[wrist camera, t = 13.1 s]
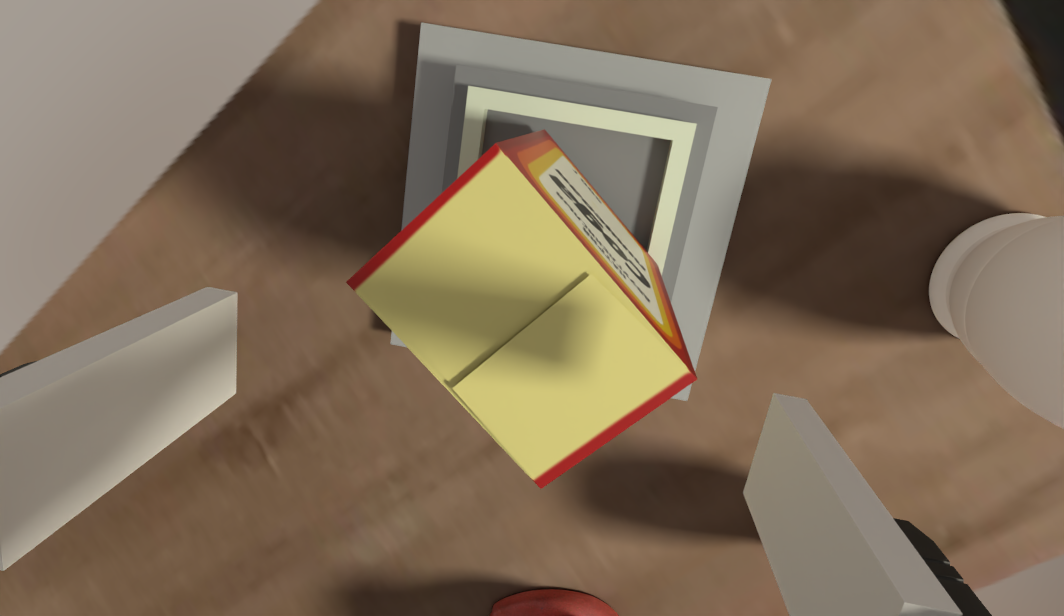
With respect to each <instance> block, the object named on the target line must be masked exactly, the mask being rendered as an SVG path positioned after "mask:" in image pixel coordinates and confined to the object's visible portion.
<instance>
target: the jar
mask: <svg viewBox="0 0 1064 616" xmlns="http://www.w3.org/2000/svg"><path fill="white" fill-rule="evenodd" d="M929 299H930V304H931V308H932V311H933V313H934V315H935V317H936V319H937V320H938V321H939V323H940V324H941V325H942V326H943V327H944V328H945V329H946V330H947V331H948V332H949V333H951V334H952V335H953V336H955V337H957V338H959V339H960V340H961V341H962V343H963V344H964V346H965V347H966V348H967V350H968V351H969V352H970V353H971V355H972V356H973V357H974V358H975V359H976V360H977V361H978V362H979V363H980V364H981V365H982V366H983V367H984V368H985V369H986V371H987V372H988V373H989V374H990V375H991V377H992V378H993V379H994V380H995V381H996V382H997V383H998V384H999V385H1000V386H1001V387H1002V388H1003V389H1004V390H1005V391H1007V392H1008V393H1009V394H1010V395H1011V396H1012V397H1014V398H1015V399H1016V400H1017V401H1019V402H1020V403H1021V404H1023V405H1024V406H1026V407H1027V408H1028V409H1030V410H1031V411H1033V412H1034V413H1036V414H1038V415H1039V416H1041V417H1043V418H1044V419H1046V420H1048V421H1050V422H1051V423H1053V424H1055V425H1057V426H1059V427H1061V428H1063V429H1064V216H1054V217H1044V216H1040V215H1036V214H1029V213H1011V214H1004V215H999V216H995V217H992V218H989V219H986V220H984V221H981V222H979V223H977V224H975V225H973V226H971V227H970V228H968V229H967V230H965V231H964V232H962V233H961V234H960V235H958V236H957V237H956V238H955V239H954V240H953V241H952V242H951V243H950V244H949V245H948V246H947V247H946V248H945V250H944V251H943V252H942V254H941V255H940V257H939V258H938V260H937V262H936V264H935V266H934V269H933V271H932V274H931V278H930V283H929Z"/></svg>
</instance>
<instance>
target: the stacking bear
mask: <svg viewBox="0 0 1064 616" xmlns="http://www.w3.org/2000/svg"><path fill="white" fill-rule="evenodd" d="M490 616H619V615H618V614H617V613H616V612H615V611H614V610H613V609H612V608H611V607H610V606H609V605H607V604H606V603H604V602H603V601H601V600H599V599H597V598H595V597H593V596H590V595H587V594H584V593H579V592H574V591H568V590H556V589H548V590H533V591H527V592H522V593H518V594H515V595H511V596H509V597H506V598H504V599H501V600H500V601H498V602H497V603H495V604H494V606H493V610H492V612H491V614H490Z"/></svg>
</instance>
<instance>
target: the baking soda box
mask: <svg viewBox="0 0 1064 616" xmlns="http://www.w3.org/2000/svg"><path fill="white" fill-rule="evenodd" d="M346 283H347V284H348V285H349V286H350V287H351V288H352V289H353V290H354V291H355V292H356V293H357V294H358V295H359V296H360V297H361V299H362V300H363V301H364V302H365V303H366V304H367V305H368V306H369V307H370V308H371V309H372V310H373V311H374V312H375V313H376V314H377V315H378V317H379V318H380V319H381V320H382V321H383V322H384V323H385V324H386V325H387V326H388V327H389V328H390V329H391V330H392V331H393V332H394V334H395V335H396V336H397V337H398V338H399V339H400V340H401V341H402V342H403V343H404V344H405V345H406V346H407V347H408V348H409V349H410V350H411V352H412V353H413V354H414V355H415V356H416V357H417V358H418V359H419V360H420V361H421V362H422V363H423V364H424V365H425V366H426V367H427V369H428V370H429V371H430V372H431V373H432V374H433V375H434V376H435V377H436V378H437V379H438V380H439V381H440V382H441V383H442V384H443V385H444V387H445V388H446V389H447V390H448V391H449V392H450V393H451V394H452V395H453V396H454V397H455V398H456V399H457V400H458V401H459V402H460V404H461V405H462V406H463V407H464V408H465V409H466V410H467V411H468V412H469V413H470V414H471V415H472V416H473V417H474V418H475V419H476V420H477V422H478V423H479V424H480V425H481V426H482V427H483V428H484V429H485V430H486V431H487V432H488V433H489V434H490V435H491V436H492V437H493V439H494V440H495V441H496V442H497V443H498V444H499V445H500V446H501V447H502V448H503V449H504V450H505V451H506V452H507V453H508V454H509V456H510V457H511V458H512V459H513V460H514V461H515V462H516V463H517V464H518V465H519V466H520V467H521V468H522V469H523V470H524V471H525V472H526V474H527V475H528V476H529V477H530V478H531V479H532V480H533V481H534V482H535V483H536V484H537V485H538V486H539V487H540V488H543V487H544V486H546V485H547V484H549V483H550V482H551V481H553V480H554V479H556V478H557V477H559V476H560V475H561V474H563V473H564V472H566V471H567V470H569V469H570V468H571V467H573V466H574V465H576V464H577V463H579V462H580V461H581V460H583V459H584V458H586V457H587V456H589V455H590V454H591V453H593V452H594V451H596V450H597V449H599V448H600V447H601V446H603V445H604V444H606V443H607V442H609V441H610V440H611V439H613V438H614V437H616V436H617V435H619V434H620V433H621V432H623V431H624V430H626V429H627V428H628V427H630V426H631V425H633V424H634V423H636V422H637V421H638V420H640V419H641V418H643V417H644V416H646V415H647V414H648V413H650V412H651V411H653V410H654V409H656V408H657V407H658V406H660V405H661V404H663V403H664V402H666V401H667V400H668V399H670V398H671V397H673V396H674V395H676V394H677V393H678V392H680V391H681V390H683V389H684V388H686V387H687V386H688V385H690V384H691V383H693V382H694V381H696V380H697V376H696V374H695V371H694V368H693V365H692V362H691V359H690V356H689V353H688V351H687V348H686V345H685V342H684V339H683V336H682V333H681V330H680V328H679V325H678V322H677V319H676V316H675V313H674V310H673V307H672V305H671V302H670V299H669V296H668V293H667V290H666V287H665V284H664V282H663V279H662V276H661V273H660V270H659V267H658V264H657V263H656V262H655V261H654V259H653V258H652V257H651V256H650V255H649V254H648V252H647V251H646V250H645V249H644V248H643V246H642V245H641V244H640V243H639V242H638V240H637V239H636V238H635V237H634V236H633V234H632V233H631V232H630V231H629V230H628V228H627V227H626V226H625V225H624V224H623V222H622V221H621V220H620V219H619V218H618V216H617V215H616V214H615V213H614V212H613V210H612V209H611V208H610V207H609V206H608V204H607V203H606V202H605V201H604V200H603V198H602V197H601V196H600V195H599V194H598V192H597V191H596V190H595V189H594V188H593V186H592V185H591V184H590V183H589V182H588V180H587V179H586V178H585V177H584V176H583V174H582V173H581V172H580V171H579V170H578V168H577V167H576V166H575V165H574V164H573V162H572V161H571V160H570V159H569V158H568V156H567V155H566V154H565V153H564V152H563V150H562V149H561V148H560V147H559V146H558V145H557V143H556V142H555V141H554V140H553V139H552V137H551V136H550V135H549V134H548V133H547V131H546V130H545V129H544V130H541V131H537V132H534V133H530V134H526V135H523V136H519V137H516V138H512V139H508V140H505V141H501V142H498V143H495V144H494V145H493V146H492V147H491V148H490V149H489V150H488V151H487V152H486V153H484V154H483V155H482V156H481V157H480V158H479V159H478V160H477V161H476V162H475V163H474V164H473V165H472V166H470V167H469V168H468V169H467V170H466V171H465V172H464V173H463V174H462V175H461V176H460V177H459V178H458V179H457V180H455V181H454V182H453V183H452V184H451V185H450V186H449V187H448V188H447V189H446V190H445V191H444V192H443V193H441V194H440V195H439V196H438V197H437V198H436V199H435V200H434V201H433V202H432V203H431V204H430V205H429V206H427V207H426V208H425V209H424V210H423V211H422V212H421V213H420V214H419V215H418V216H417V217H416V218H415V219H413V220H412V221H411V222H410V223H409V224H408V225H407V226H406V227H405V228H404V229H403V230H402V231H401V232H399V233H398V234H397V235H396V236H395V237H394V238H393V239H392V240H391V241H390V242H389V243H388V244H387V245H385V246H384V247H383V248H382V249H381V250H380V251H379V252H378V253H377V254H376V255H375V256H374V257H373V258H371V259H370V260H369V261H368V262H367V263H366V264H365V265H364V266H363V267H362V268H361V269H360V270H359V271H357V272H356V273H355V274H354V275H353V276H352V277H351V278H350V279H349V280H348V281H347V282H346Z"/></svg>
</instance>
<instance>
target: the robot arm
mask: <svg viewBox="0 0 1064 616" xmlns="http://www.w3.org/2000/svg"><path fill="white" fill-rule="evenodd" d="M236 358H237V292H232V291H227V290H222V289H216V288H211V287H206V288H204V289H202V290H199V291H197V292H195V293H192V294H190V295H188V296H186V297H183V298H181V299H179V300H176V301H174V302H172V303H170V304H167V305H165V306H163V307H160V308H158V309H156V310H154V311H151V312H149V313H147V314H144V315H142V316H140V317H137V318H135V319H133V320H131V321H128V322H126V323H124V324H121V325H119V326H117V327H115V328H112V329H110V330H108V331H105V332H103V333H101V334H99V335H96V336H94V337H92V338H89V339H87V340H85V341H83V342H80V343H78V344H76V345H73V346H71V347H69V348H67V349H64V350H62V351H60V352H57V353H55V354H53V355H51V356H48V357H46V358H44V359H41V360H39V361H35V362H31V363H27V364H23V365H21V366H19V367H16V368H14V369H12V370H9V371H7V372H5V373H2V374H0V570H2V571H4V570H5V569H7V568H8V567H9V566H11V565H12V564H13V563H15V562H16V561H17V560H19V559H20V558H21V557H22V556H24V555H25V554H26V553H28V552H29V551H30V550H32V549H33V548H34V547H36V546H37V545H38V544H39V543H41V542H42V541H43V540H45V539H46V538H47V537H49V536H50V535H51V534H53V533H54V532H55V531H56V530H58V529H59V528H60V527H62V526H63V525H64V524H66V523H67V522H68V521H70V520H71V519H72V518H73V517H75V516H76V515H77V514H79V513H80V512H81V511H83V510H84V509H85V508H87V507H88V506H89V505H91V504H92V503H93V502H94V501H96V500H97V499H98V498H100V497H101V496H102V495H104V494H105V493H106V492H108V491H109V490H110V489H111V488H113V487H114V486H115V485H117V484H118V483H119V482H121V481H122V480H123V479H125V478H126V477H127V476H128V475H130V474H131V473H132V472H134V471H135V470H136V469H138V468H139V467H140V466H142V465H143V464H144V463H145V462H147V461H148V460H149V459H151V458H152V457H153V456H155V455H156V454H157V453H159V452H160V451H161V450H162V449H164V448H165V447H166V446H168V445H169V444H170V443H172V442H173V441H174V440H176V439H177V438H178V437H180V436H181V435H182V434H183V433H185V432H186V431H187V430H189V429H190V428H191V427H193V426H194V425H195V424H197V423H198V422H199V421H200V420H202V419H203V418H204V417H206V416H207V415H208V414H210V413H211V412H212V411H214V410H215V409H216V408H217V407H219V406H220V405H221V404H223V403H224V402H225V401H227V400H228V399H229V398H231V397H232V396H233V395H234V394H236ZM743 494H744V497H745V500H746V502H747V505H748V507H749V510H750V513H751V515H752V518H753V521H754V523H755V526H756V529H757V531H758V534H759V536H760V539H761V542H762V544H763V547H764V550H765V552H766V555H767V558H768V560H769V563H770V565H771V568H772V571H773V573H774V576H775V579H776V581H777V584H778V586H779V589H780V592H781V594H782V597H783V600H784V602H785V605H786V608H787V610H788V613H789V615H790V616H992V615H991V614H990V613H989V611H988V610H987V609H986V608H985V606H984V605H983V604H982V603H981V601H980V600H979V599H978V597H977V596H976V595H975V594H974V592H973V591H972V590H971V588H970V587H969V586H968V585H967V584H964V583H963V581H964V580H963V578H962V577H961V576H960V574H959V573H958V572H957V571H956V569H955V568H954V567H953V566H950V562H949V560H948V559H947V558H946V557H945V555H944V554H943V553H942V551H941V550H940V549H939V548H938V546H937V545H936V544H935V543H934V541H932V540H931V539H930V538H929V537H927V536H926V535H925V534H924V533H922V532H921V531H920V530H919V529H917V528H916V527H915V526H914V525H912V524H911V523H910V522H909V521H905V520H900V519H895V518H892V516H891V515H890V513H889V512H888V511H887V509H886V508H885V507H884V505H883V504H882V502H881V501H880V500H879V498H878V497H877V496H876V494H875V493H874V491H873V490H872V489H871V487H870V486H869V485H868V483H867V482H866V480H865V479H864V478H863V476H862V475H861V474H860V472H859V471H858V469H857V468H856V467H855V465H854V464H853V463H852V461H851V460H850V458H849V457H848V456H847V454H846V453H845V452H844V450H843V449H842V448H841V446H840V445H839V443H838V442H837V441H836V439H835V438H834V437H833V435H832V434H831V432H830V431H829V430H828V428H827V427H826V426H825V424H824V423H823V421H822V420H821V419H820V417H819V416H818V415H817V413H816V412H815V410H814V409H813V408H812V406H811V405H810V404H809V402H808V401H807V399H803V398H797V397H792V396H787V395H781V394H776V393H773V396H772V400H771V403H770V406H769V409H768V413H767V416H766V419H765V422H764V426H763V429H762V432H761V435H760V439H759V442H758V445H757V449H756V452H755V455H754V458H753V462H752V465H751V468H750V471H749V475H748V478H747V481H746V484H745V488H744V491H743Z"/></svg>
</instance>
